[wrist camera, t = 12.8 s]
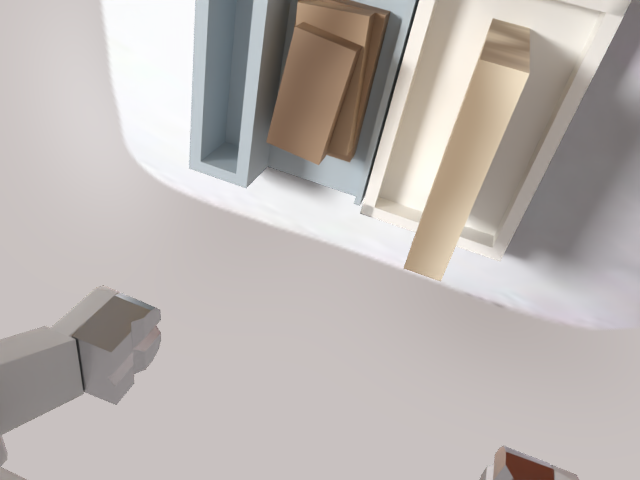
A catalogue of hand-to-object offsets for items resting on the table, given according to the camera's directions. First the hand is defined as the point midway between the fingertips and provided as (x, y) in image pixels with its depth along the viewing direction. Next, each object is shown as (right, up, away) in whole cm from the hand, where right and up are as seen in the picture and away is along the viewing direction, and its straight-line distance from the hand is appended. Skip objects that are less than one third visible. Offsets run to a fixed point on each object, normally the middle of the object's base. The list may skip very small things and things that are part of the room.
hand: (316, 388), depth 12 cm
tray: (+9, +11, +20) cm, 24 cm away
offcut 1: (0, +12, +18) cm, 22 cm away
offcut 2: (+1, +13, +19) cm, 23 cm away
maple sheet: (+9, +11, +19) cm, 24 cm away
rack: (-1, +15, +21) cm, 26 cm away
